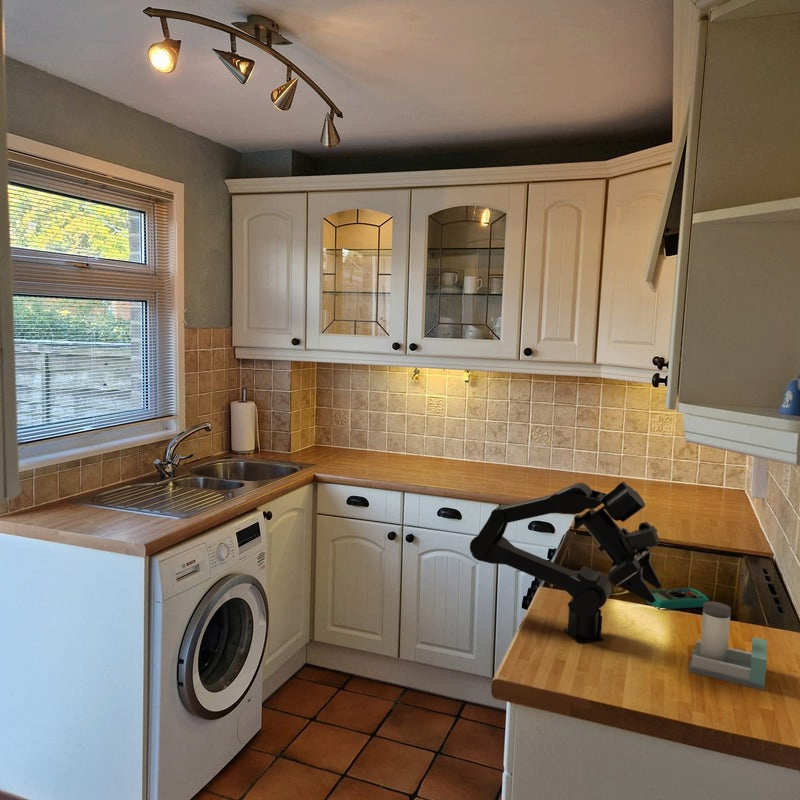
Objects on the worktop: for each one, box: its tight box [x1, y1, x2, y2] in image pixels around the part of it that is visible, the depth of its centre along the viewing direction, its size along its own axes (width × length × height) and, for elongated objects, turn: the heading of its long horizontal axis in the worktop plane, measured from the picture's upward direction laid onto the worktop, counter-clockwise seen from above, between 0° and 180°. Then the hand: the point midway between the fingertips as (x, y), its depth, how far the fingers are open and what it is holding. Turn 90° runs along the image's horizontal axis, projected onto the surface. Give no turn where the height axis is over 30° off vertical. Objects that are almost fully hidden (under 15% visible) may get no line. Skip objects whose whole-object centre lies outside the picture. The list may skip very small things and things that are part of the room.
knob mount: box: [688, 637, 768, 691], centre depth 135 cm, size 13×10×6 cm
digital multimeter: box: [643, 587, 710, 610], centre depth 170 cm, size 7×15×3 cm, turn 103°
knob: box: [700, 600, 732, 662], centre depth 136 cm, size 5×5×11 cm
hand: (657, 594), depth 141 cm, fingers open, 9 cm apart
